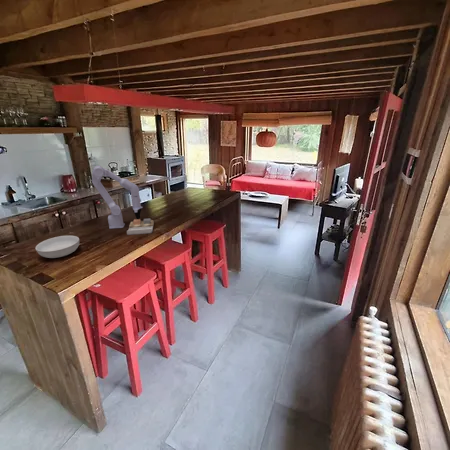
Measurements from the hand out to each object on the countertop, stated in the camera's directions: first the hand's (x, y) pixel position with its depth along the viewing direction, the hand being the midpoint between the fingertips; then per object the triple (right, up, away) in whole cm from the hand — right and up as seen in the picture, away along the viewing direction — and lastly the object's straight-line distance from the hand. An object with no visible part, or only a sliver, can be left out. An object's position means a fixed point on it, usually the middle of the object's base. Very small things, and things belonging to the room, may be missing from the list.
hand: (138, 218), depth 189 cm
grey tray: (+6, -9, -14) cm, 18 cm away
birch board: (+4, -6, -5) cm, 9 cm away
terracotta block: (+1, -4, -7) cm, 8 cm away
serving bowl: (-29, -21, -45) cm, 57 cm away
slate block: (+8, -3, -5) cm, 10 cm away
